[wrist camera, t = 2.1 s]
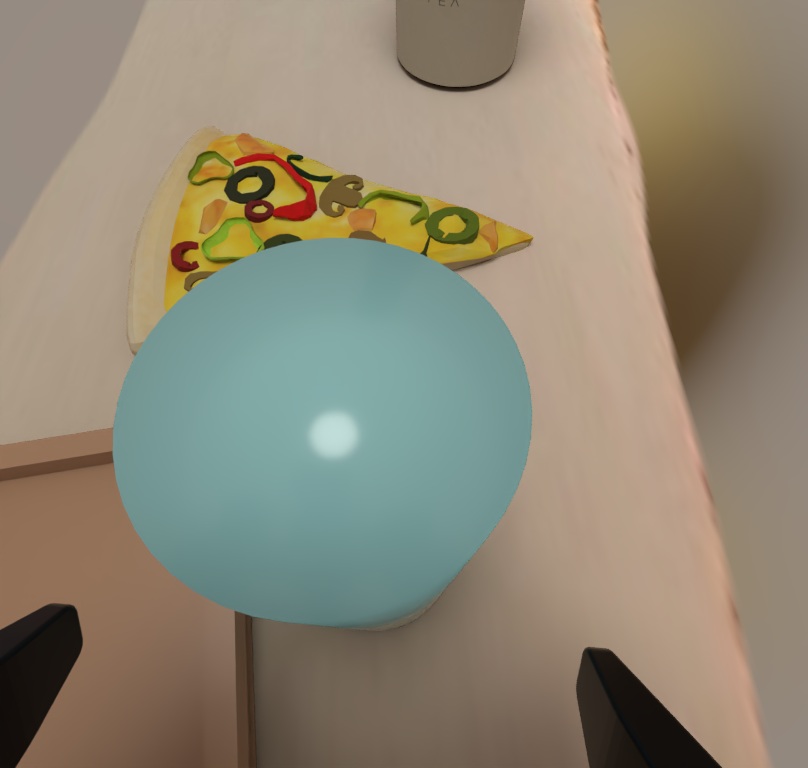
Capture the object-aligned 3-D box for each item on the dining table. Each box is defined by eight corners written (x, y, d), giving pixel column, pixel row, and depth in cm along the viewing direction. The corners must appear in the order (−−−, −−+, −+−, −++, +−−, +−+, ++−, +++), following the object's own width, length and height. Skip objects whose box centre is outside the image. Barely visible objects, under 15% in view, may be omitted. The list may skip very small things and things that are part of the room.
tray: (258, 833, 16) (239, 857, 14) (-143, 919, 15) (-218, 958, 13) (245, 427, 22) (230, 409, 20) (-41, 473, 21) (-81, 458, 19)
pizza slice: (187, 148, 31) (167, 103, 29) (520, 156, 31) (531, 111, 28) (111, 366, 24) (75, 333, 22) (539, 382, 24) (556, 350, 21)
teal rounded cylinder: (468, 614, 19) (591, 573, 6) (308, 645, 18) (91, 668, 6) (436, 461, 21) (477, 216, 9) (295, 485, 21) (128, 263, 8)
